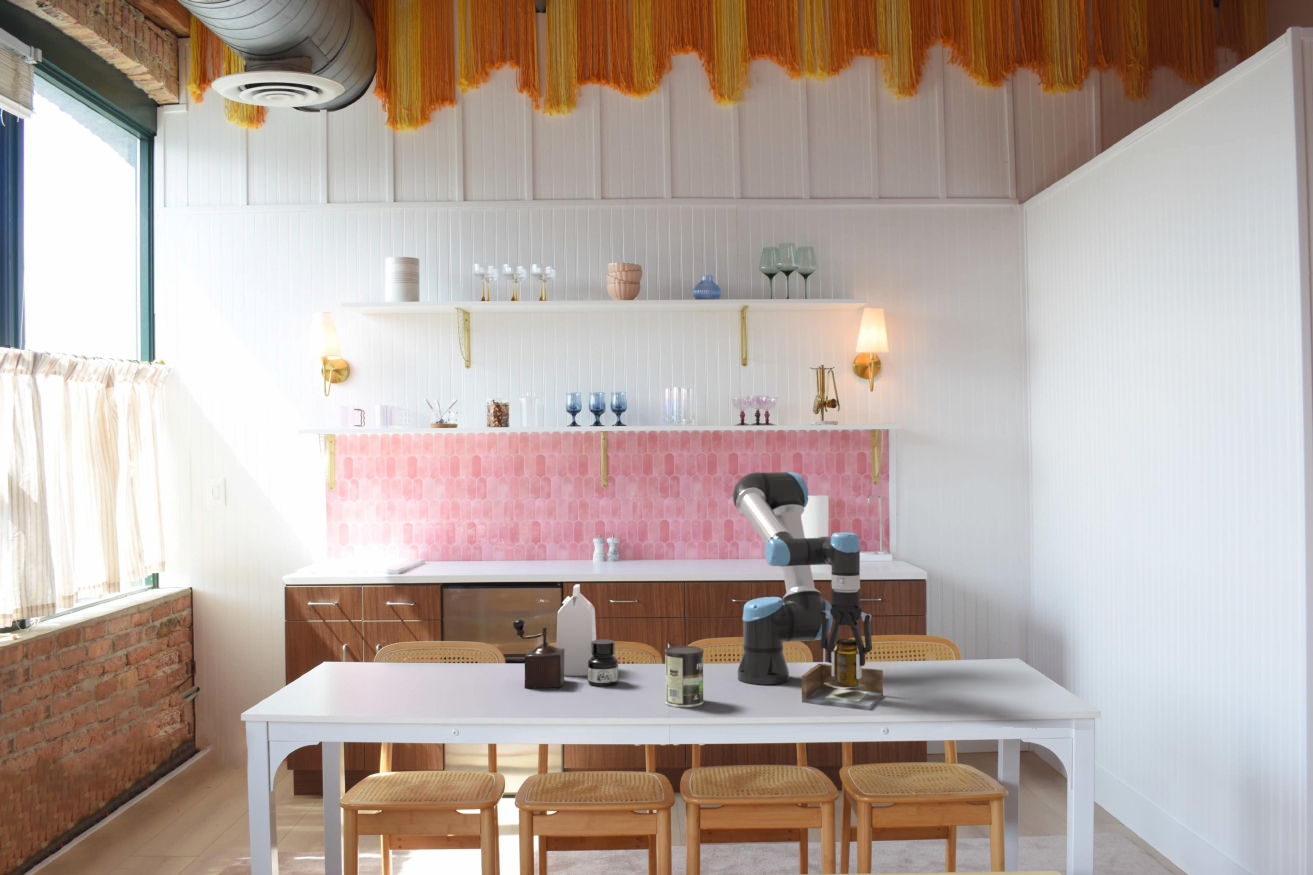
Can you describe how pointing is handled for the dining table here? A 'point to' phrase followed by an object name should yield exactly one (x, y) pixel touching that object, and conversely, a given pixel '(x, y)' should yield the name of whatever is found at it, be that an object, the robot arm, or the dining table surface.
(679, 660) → the coffee can
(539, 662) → the manual coffee grinder
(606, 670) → the ink bottle
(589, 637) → the milk
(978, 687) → the dining table surface
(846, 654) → the condiment
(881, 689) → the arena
